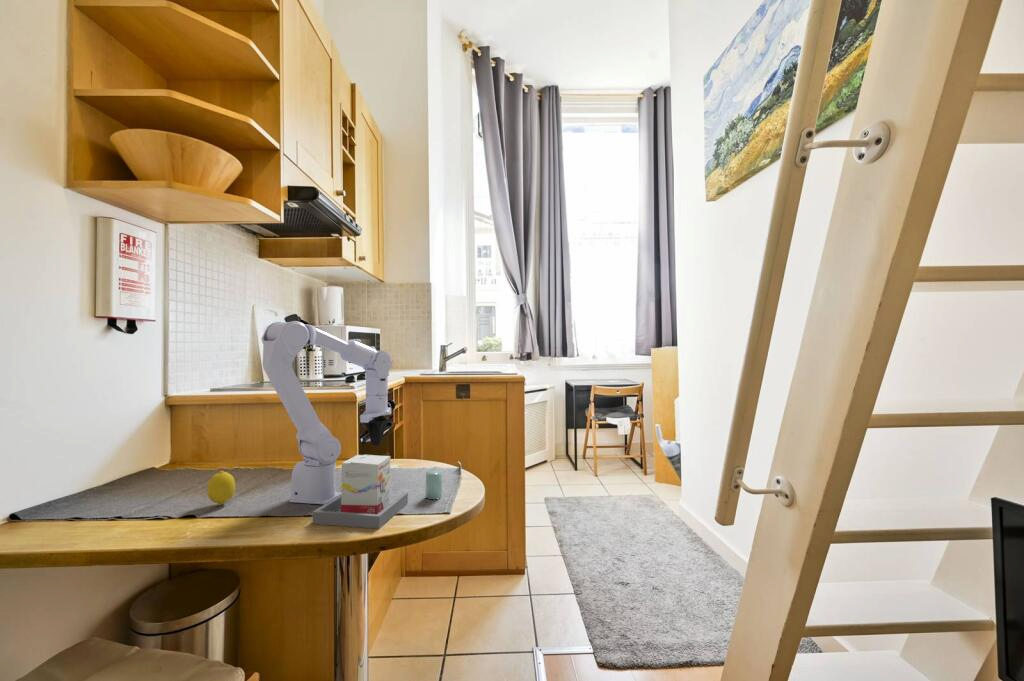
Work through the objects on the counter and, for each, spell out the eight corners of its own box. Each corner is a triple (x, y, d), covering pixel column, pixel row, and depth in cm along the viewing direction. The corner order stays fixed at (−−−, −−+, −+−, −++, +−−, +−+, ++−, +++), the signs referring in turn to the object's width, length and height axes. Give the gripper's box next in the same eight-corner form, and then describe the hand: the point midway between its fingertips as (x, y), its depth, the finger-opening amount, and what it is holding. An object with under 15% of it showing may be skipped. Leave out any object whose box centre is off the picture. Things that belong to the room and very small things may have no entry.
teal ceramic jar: (423, 499, 112) (424, 474, 112) (427, 493, 116) (427, 470, 116) (440, 500, 112) (441, 475, 112) (442, 494, 116) (443, 470, 116)
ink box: (377, 517, 101) (377, 463, 101) (339, 516, 101) (340, 462, 101) (391, 504, 109) (391, 454, 109) (356, 502, 110) (356, 453, 110)
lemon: (235, 506, 107) (236, 471, 107) (207, 511, 104) (207, 475, 104) (234, 499, 112) (234, 466, 112) (207, 504, 109) (207, 470, 109)
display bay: (312, 523, 97) (312, 511, 97) (348, 499, 112) (349, 489, 112) (379, 528, 95) (379, 516, 95) (407, 503, 109) (407, 493, 109)
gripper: (378, 398, 117) (378, 451, 117) (401, 392, 132) (401, 439, 132) (352, 397, 119) (352, 450, 119) (378, 391, 133) (377, 439, 133)
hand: (376, 444), depth 125 cm, fingers closed
